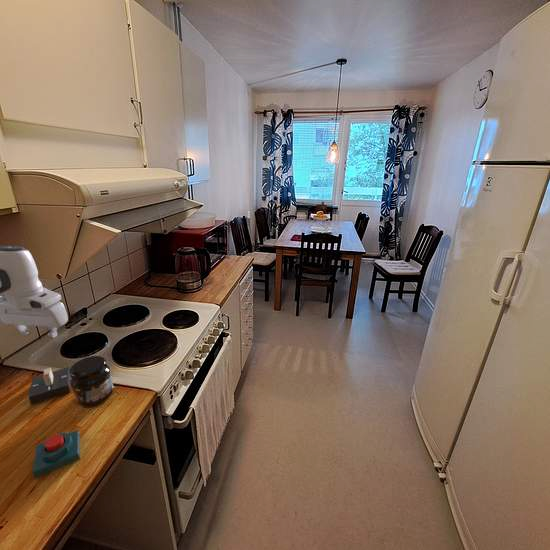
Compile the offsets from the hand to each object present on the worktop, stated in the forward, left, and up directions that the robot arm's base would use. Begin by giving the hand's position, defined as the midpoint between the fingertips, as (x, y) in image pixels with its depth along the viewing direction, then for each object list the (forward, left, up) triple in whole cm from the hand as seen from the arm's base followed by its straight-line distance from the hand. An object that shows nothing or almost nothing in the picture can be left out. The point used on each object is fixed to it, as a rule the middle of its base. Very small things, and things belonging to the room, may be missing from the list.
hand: (40, 335), depth 92 cm
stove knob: (0, -5, -14) cm, 15 cm away
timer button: (+3, -34, -14) cm, 37 cm away
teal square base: (+3, -34, -17) cm, 39 cm away
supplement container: (+12, -16, -18) cm, 27 cm away
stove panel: (0, -5, -17) cm, 18 cm away
